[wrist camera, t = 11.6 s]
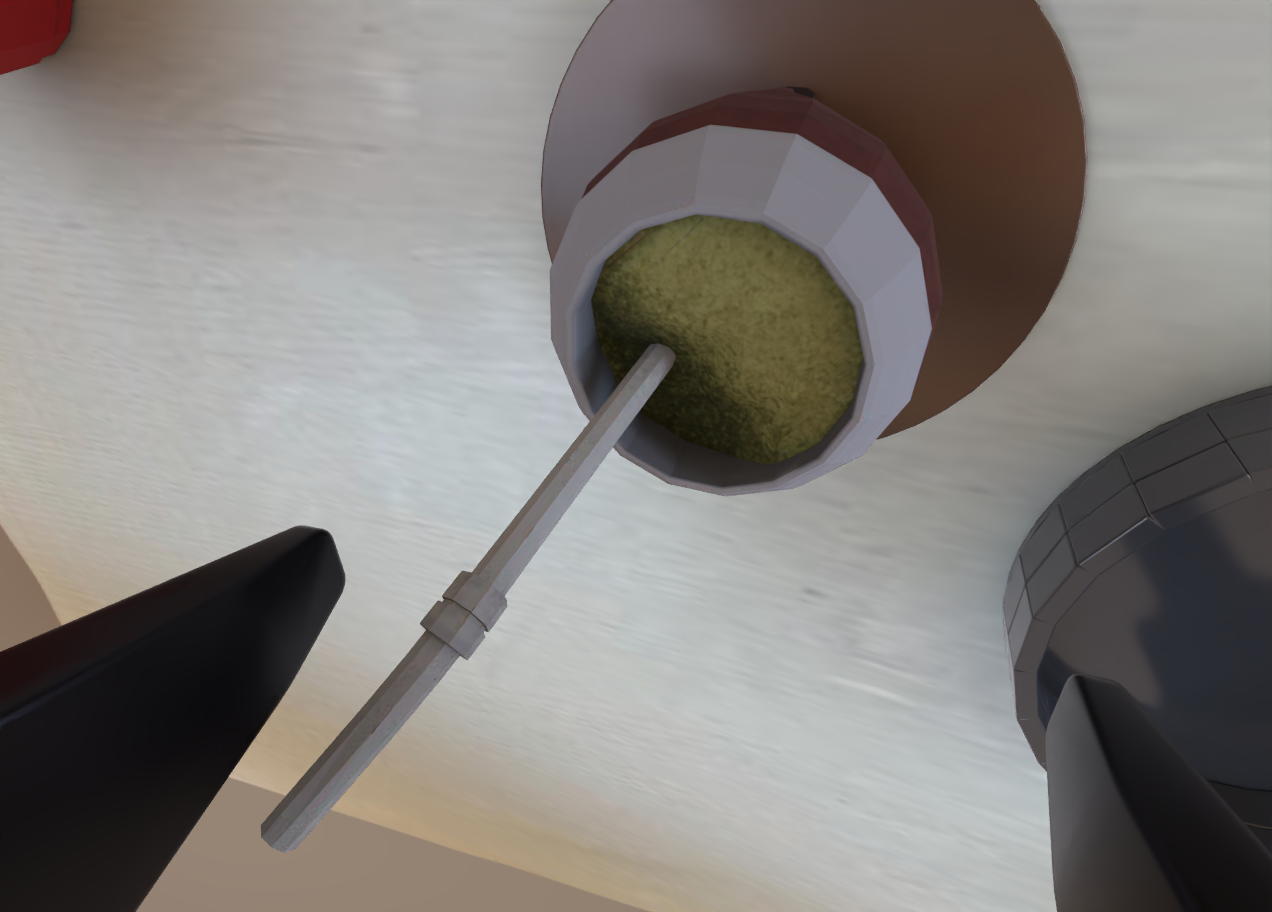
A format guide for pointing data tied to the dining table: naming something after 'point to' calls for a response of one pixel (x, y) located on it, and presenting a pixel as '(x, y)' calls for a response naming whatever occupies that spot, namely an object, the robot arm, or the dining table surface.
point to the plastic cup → (31, 31)
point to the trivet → (887, 108)
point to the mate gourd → (699, 347)
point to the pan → (1162, 595)
